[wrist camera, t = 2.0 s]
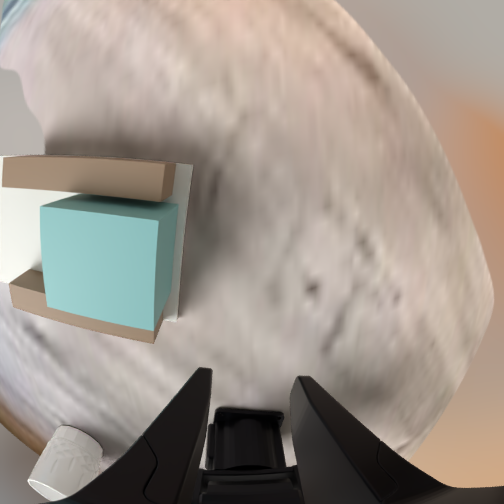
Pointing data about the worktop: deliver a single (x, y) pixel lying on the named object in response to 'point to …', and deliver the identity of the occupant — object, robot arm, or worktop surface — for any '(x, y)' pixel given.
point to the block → (108, 257)
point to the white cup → (66, 464)
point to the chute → (68, 184)
